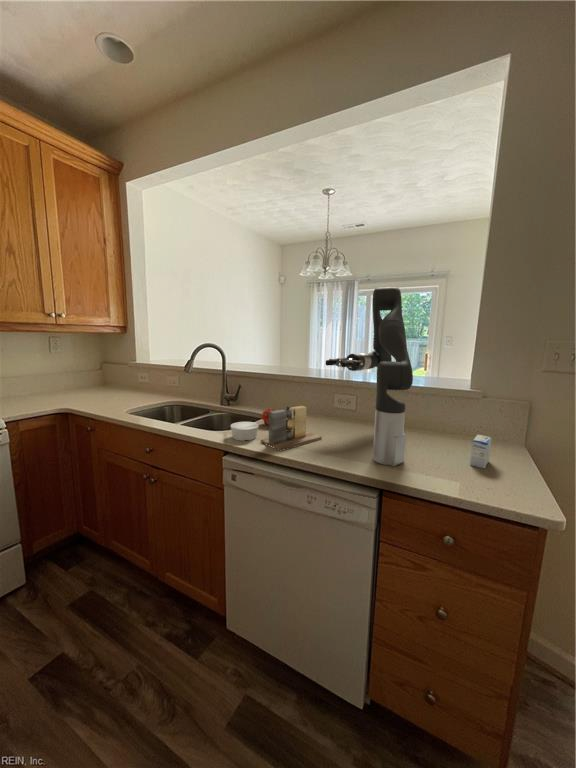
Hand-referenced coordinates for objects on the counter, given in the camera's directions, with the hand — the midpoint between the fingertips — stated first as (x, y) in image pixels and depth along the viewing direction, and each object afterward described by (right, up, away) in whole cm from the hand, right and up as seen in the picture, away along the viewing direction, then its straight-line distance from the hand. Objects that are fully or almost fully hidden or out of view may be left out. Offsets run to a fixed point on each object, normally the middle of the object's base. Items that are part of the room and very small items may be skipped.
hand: (334, 363), depth 129 cm
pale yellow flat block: (-16, -29, -2) cm, 34 cm away
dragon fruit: (-26, -28, +18) cm, 42 cm away
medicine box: (+45, -35, -23) cm, 61 cm away
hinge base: (-17, -31, -3) cm, 35 cm away
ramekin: (-36, -30, 0) cm, 47 cm away
